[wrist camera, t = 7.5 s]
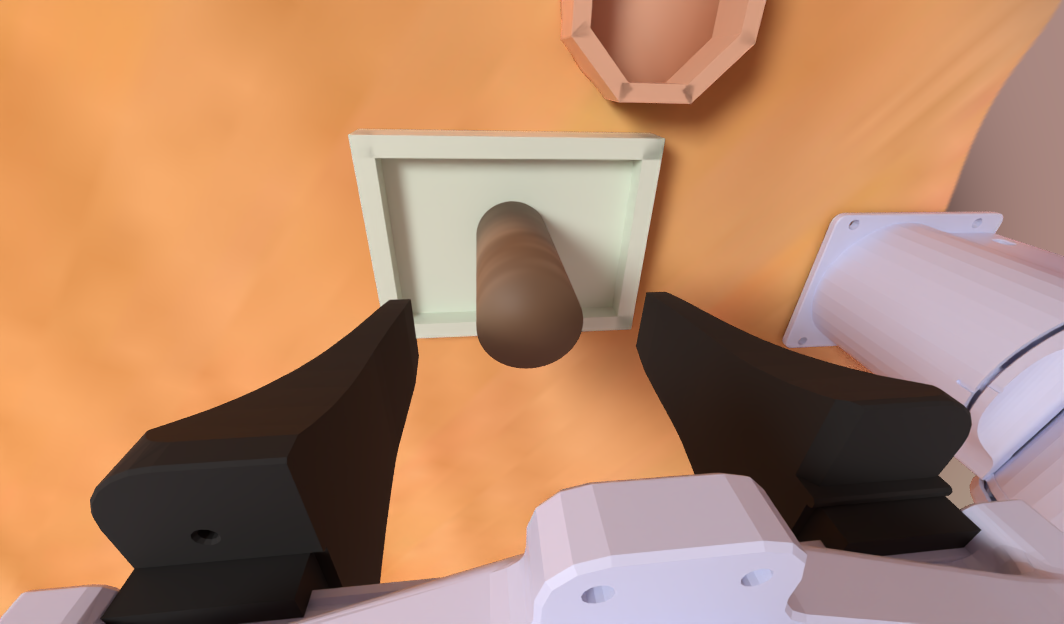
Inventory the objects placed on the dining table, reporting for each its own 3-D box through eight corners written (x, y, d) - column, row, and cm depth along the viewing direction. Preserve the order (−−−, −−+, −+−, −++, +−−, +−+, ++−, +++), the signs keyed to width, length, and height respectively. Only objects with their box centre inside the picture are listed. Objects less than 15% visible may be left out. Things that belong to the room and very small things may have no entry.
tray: (650, 132, 18) (665, 138, 16) (621, 313, 22) (630, 329, 21) (359, 129, 16) (348, 134, 15) (392, 321, 21) (386, 339, 19)
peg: (551, 203, 18) (591, 279, 12) (542, 270, 20) (574, 368, 13) (477, 198, 18) (478, 274, 11) (475, 267, 19) (474, 367, 13)
